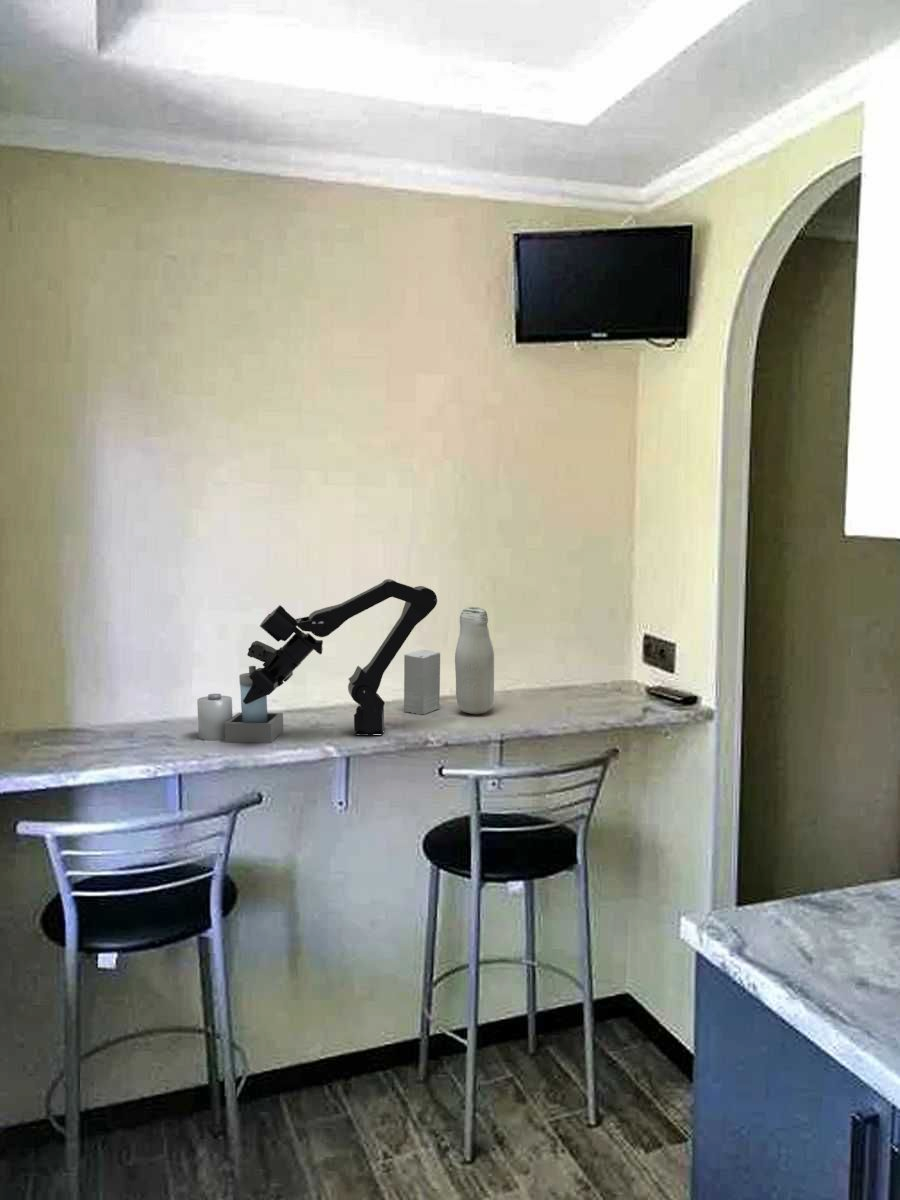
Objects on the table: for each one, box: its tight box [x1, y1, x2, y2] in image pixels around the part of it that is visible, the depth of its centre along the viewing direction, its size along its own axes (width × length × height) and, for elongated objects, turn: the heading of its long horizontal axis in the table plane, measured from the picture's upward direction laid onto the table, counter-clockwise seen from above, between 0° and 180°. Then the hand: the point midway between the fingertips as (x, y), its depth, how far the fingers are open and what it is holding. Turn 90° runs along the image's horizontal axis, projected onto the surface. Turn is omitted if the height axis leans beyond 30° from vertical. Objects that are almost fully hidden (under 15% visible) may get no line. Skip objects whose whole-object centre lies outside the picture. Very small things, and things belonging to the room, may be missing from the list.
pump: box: [238, 665, 268, 723], centre depth 225 cm, size 6×6×15 cm
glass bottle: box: [454, 606, 495, 715], centre depth 247 cm, size 10×10×28 cm
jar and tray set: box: [197, 693, 284, 743], centre depth 226 cm, size 19×11×10 cm, turn 85°
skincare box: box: [403, 649, 441, 715], centre depth 251 cm, size 8×7×16 cm
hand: (248, 699), depth 225 cm, fingers open, 6 cm apart
